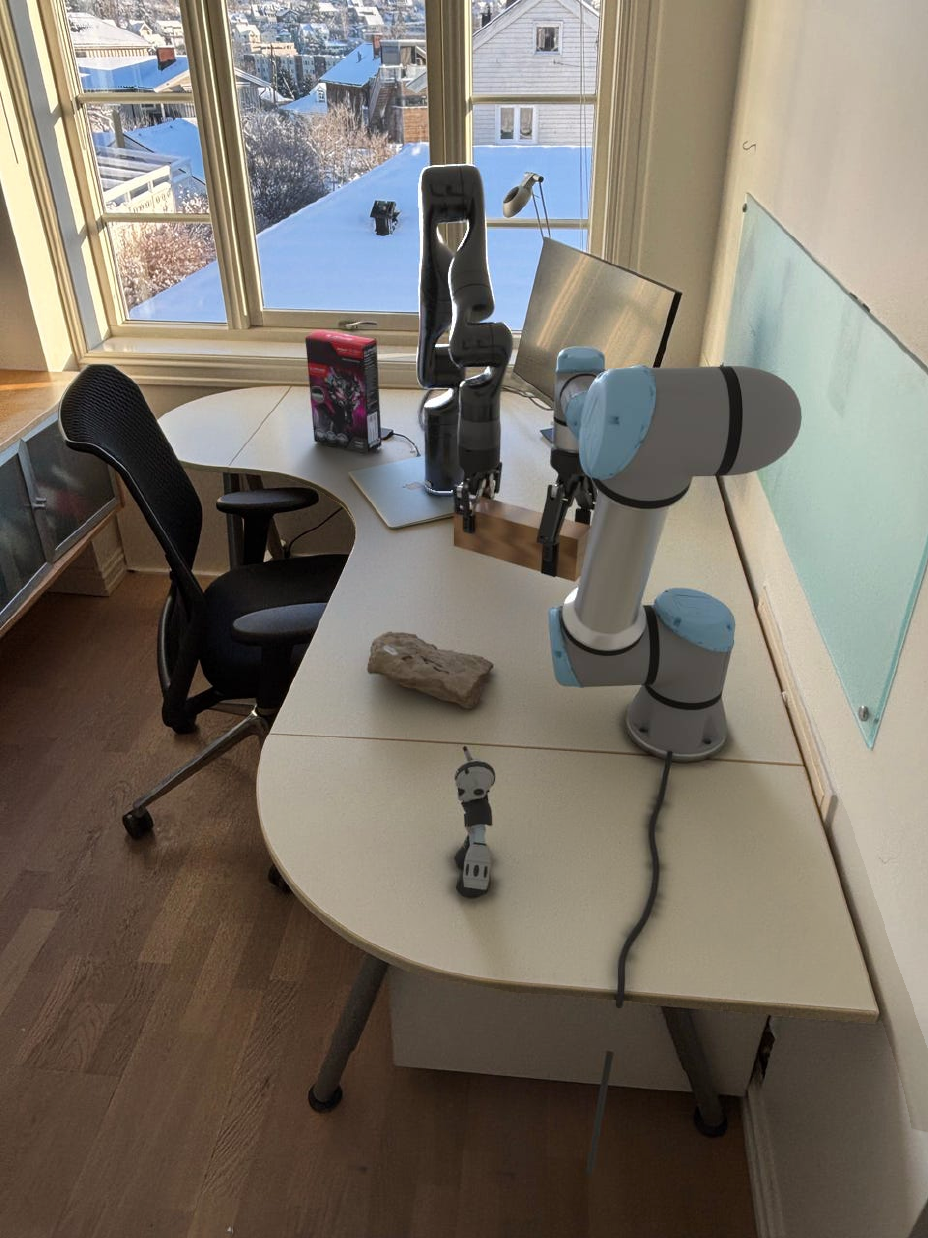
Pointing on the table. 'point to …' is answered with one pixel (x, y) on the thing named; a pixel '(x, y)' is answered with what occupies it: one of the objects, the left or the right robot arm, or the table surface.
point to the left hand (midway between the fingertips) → (477, 524)
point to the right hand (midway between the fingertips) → (565, 558)
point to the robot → (474, 825)
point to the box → (521, 537)
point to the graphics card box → (344, 390)
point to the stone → (429, 668)
